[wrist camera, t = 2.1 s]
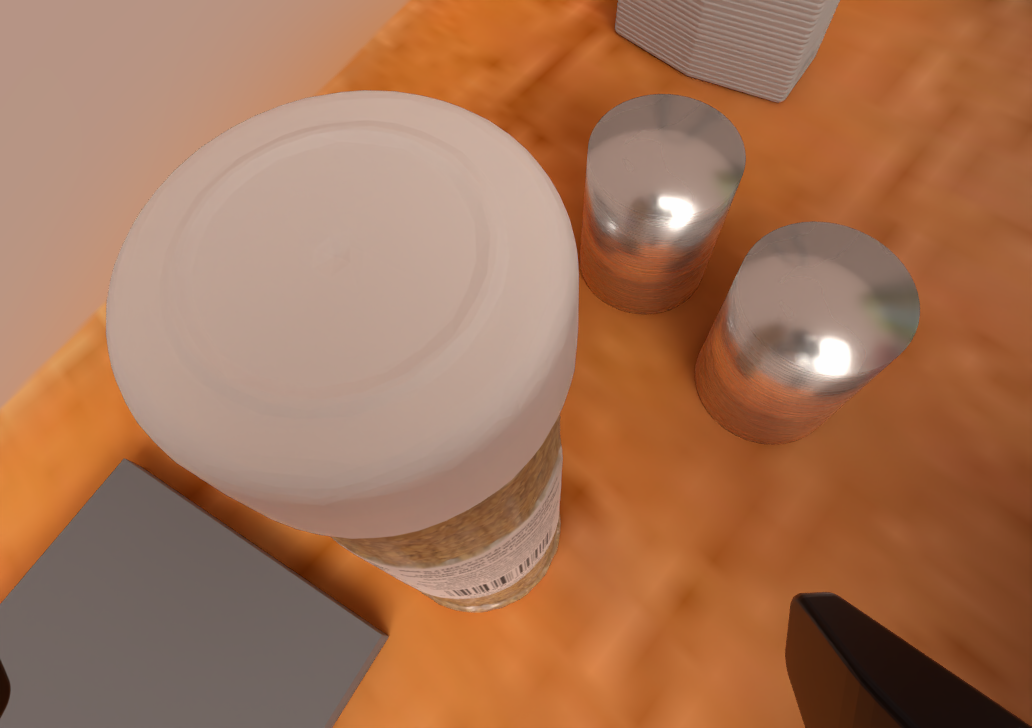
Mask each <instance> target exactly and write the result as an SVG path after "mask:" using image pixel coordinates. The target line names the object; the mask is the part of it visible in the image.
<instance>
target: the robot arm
mask: <svg viewBox="0 0 1032 728" xmlns="http://www.w3.org/2000/svg"><path fill="white" fill-rule="evenodd" d="M785 659H786V667H787V671H788V675H789V679H790V682H791V685H792V688H793V691H794V694H795V697H796V700H797V703H798V707H799V710H800V713H801V716H802V719H803V722H804V725H805V728H1032V727H1031V726H1030V725H1028V724H1027V723H1025V722H1024V721H1022V720H1021V719H1020V718H1018V717H1017V716H1015V715H1014V714H1012V713H1011V712H1009V711H1008V710H1006V709H1005V708H1003V707H1002V706H1000V705H999V704H997V703H996V702H994V701H993V700H991V699H990V698H989V697H987V696H986V695H984V694H983V693H981V692H980V691H978V690H977V689H975V688H974V687H972V686H971V685H969V684H968V683H966V682H965V681H963V680H962V679H961V678H959V677H958V676H956V675H955V674H953V673H952V672H950V671H949V670H947V669H946V668H944V667H943V666H941V665H940V664H938V663H937V662H935V661H934V660H932V659H931V658H930V657H928V656H927V655H925V654H924V653H922V652H921V651H919V650H918V649H916V648H915V647H913V646H912V645H910V644H909V643H907V642H906V641H904V640H903V639H901V638H900V637H899V636H897V635H896V634H894V633H893V632H891V631H890V630H888V629H887V628H885V627H884V626H882V625H881V624H879V623H878V622H876V621H875V620H873V619H872V618H871V617H869V616H868V615H866V614H865V613H863V612H862V611H860V610H859V609H857V608H856V607H854V606H853V605H851V604H850V603H848V602H847V601H845V600H844V599H842V598H841V597H839V596H838V595H836V594H834V593H829V592H819V593H800V594H797V595H796V596H794V597H793V599H792V602H791V606H790V614H789V623H788V632H787V641H786V650H785ZM10 693H11V684H10V680H9V678H8V675H7V673H6V671H5V668H4V666H3V664H2V661H1V659H0V718H1V717H2V715H3V713H4V711H5V709H6V707H7V705H8V702H9V699H10Z"/></svg>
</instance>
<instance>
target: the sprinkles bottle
mask: <svg viewBox="0 0 1032 728" xmlns="http://www.w3.org/2000/svg"><path fill="white" fill-rule="evenodd" d="M578 305H579V268H578V254H577V247H576V242H575V238H574V234H573V230H572V226H571V222H570V218H569V216H568V214H567V211H566V209H565V206H564V204H563V202H562V199H561V197H560V195H559V193H558V191H557V190H556V188H555V186H554V185H553V183H552V181H551V179H550V178H549V176H548V175H547V174H546V172H545V171H544V170H543V168H542V167H541V166H540V164H539V163H538V162H537V161H536V160H535V159H534V157H533V156H532V155H531V154H530V153H529V152H528V150H527V149H525V148H524V147H523V146H522V145H521V144H520V143H519V142H518V141H516V140H515V139H514V138H513V137H512V136H511V135H510V134H508V133H506V132H505V131H503V130H502V129H501V128H499V127H498V126H496V125H495V124H494V123H492V122H490V121H489V120H487V119H485V118H483V117H481V116H479V115H477V114H475V113H472V112H470V111H468V110H466V109H464V108H461V107H459V106H456V105H453V104H451V103H448V102H445V101H441V100H437V99H433V98H430V97H426V96H422V95H415V94H409V93H403V92H396V91H368V90H363V91H349V92H339V93H333V94H327V95H321V96H315V97H309V98H304V99H301V100H298V101H294V102H291V103H287V104H284V105H281V106H278V107H276V108H273V109H271V110H268V111H266V112H263V113H260V114H258V115H255V116H254V117H252V118H249V119H248V120H245V121H243V122H242V123H239V124H238V125H235V126H234V127H232V128H230V129H229V130H227V131H225V132H224V133H222V134H220V135H219V136H217V137H216V138H214V139H213V140H211V141H210V142H208V143H207V144H205V145H204V146H202V147H201V148H199V149H198V150H197V151H196V152H195V153H194V154H192V155H191V156H190V157H189V158H188V159H187V160H185V161H184V162H183V163H182V164H181V165H180V166H179V167H178V168H177V169H175V170H174V171H173V172H172V173H171V175H170V176H169V177H168V178H167V179H166V180H165V181H164V182H163V183H162V185H161V186H160V187H159V188H158V189H157V190H156V191H155V193H154V194H153V195H152V197H151V198H150V199H149V201H148V202H147V203H146V205H145V206H144V207H143V209H142V210H141V212H140V213H139V215H138V216H137V218H136V220H135V221H134V223H133V225H132V227H131V229H130V231H129V233H128V235H127V237H126V239H125V241H124V243H123V245H122V247H121V250H120V252H119V255H118V257H117V260H116V262H115V264H114V268H113V272H112V276H111V280H110V285H109V291H108V297H107V308H106V338H107V345H108V352H109V357H110V362H111V367H112V370H113V373H114V376H115V379H116V382H117V384H118V386H119V389H120V391H121V393H122V396H123V398H124V400H125V402H126V404H127V406H128V408H129V409H130V411H131V413H132V414H133V416H134V418H135V420H136V421H137V423H138V424H139V425H140V426H141V427H142V429H143V430H144V431H145V432H146V433H147V434H148V436H149V437H150V438H151V439H152V440H153V441H154V442H155V443H156V444H157V445H158V446H159V447H160V448H161V449H162V450H163V451H164V452H165V453H166V454H167V455H168V456H169V457H170V458H171V459H173V460H174V461H175V462H176V463H177V464H179V465H180V466H182V467H183V468H185V469H187V470H188V471H190V472H191V473H193V474H194V475H196V476H197V477H199V478H200V479H202V480H204V481H205V482H207V483H208V484H210V485H211V486H213V487H214V488H216V489H218V490H219V491H221V492H222V493H224V494H225V495H227V496H229V497H231V498H233V499H234V500H236V501H238V502H240V503H242V504H244V505H246V506H248V507H249V508H251V509H253V510H255V511H257V512H259V513H261V514H262V515H264V516H266V517H268V518H270V519H272V520H274V521H277V522H279V523H282V524H285V525H287V526H290V527H292V528H295V529H298V530H302V531H306V532H310V533H314V534H319V535H325V536H330V537H332V538H333V539H334V540H335V541H336V542H337V543H339V544H340V545H341V546H343V547H344V548H346V549H347V550H349V551H350V552H352V553H353V554H355V555H357V556H358V557H360V558H362V559H364V560H365V561H367V562H369V563H371V564H372V565H374V566H376V567H378V568H380V569H381V570H383V571H385V572H386V573H388V574H390V575H391V576H393V577H395V578H397V579H399V580H400V581H402V582H404V583H406V584H408V585H410V586H412V587H414V588H415V589H417V590H419V591H421V592H422V593H423V594H424V595H426V596H428V597H430V598H431V599H432V600H434V601H435V602H436V603H438V604H440V605H442V606H445V607H447V608H450V609H453V610H456V611H463V612H487V611H490V610H493V609H499V608H502V607H505V606H506V605H508V604H510V603H513V602H515V601H518V600H520V599H521V598H523V597H524V596H525V595H527V594H528V593H529V592H530V591H531V590H532V589H533V588H534V587H535V586H536V585H537V584H538V583H539V582H540V580H541V579H542V578H543V577H544V576H545V574H546V573H547V571H548V568H549V566H550V564H551V561H552V559H553V557H554V555H555V554H556V552H557V548H558V543H559V537H560V526H561V521H560V512H559V507H560V493H561V479H562V462H563V456H562V446H561V438H560V412H561V410H562V407H563V405H564V402H565V400H566V397H567V394H568V391H569V388H570V385H571V381H572V377H573V374H574V370H575V360H576V350H577V338H578Z"/></svg>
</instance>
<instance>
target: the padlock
mask: <svg viewBox="0 0 1032 728" xmlns="http://www.w3.org/2000/svg"><path fill="white" fill-rule="evenodd" d="M839 2H840V0H618V4H617V6H618V7H617V13H616V16H617V17H616V23H615V30H616V32H617V33H618V34H619V35H621V36H623V37H624V38H626V39H628V40H629V41H631V42H633V43H634V44H636V45H637V46H639V47H641V48H642V49H644V50H646V51H647V52H649V53H651V54H652V55H654V56H656V57H657V58H659V59H660V60H662V61H664V62H665V63H667V64H669V65H670V66H672V67H674V68H675V69H677V70H679V71H680V72H682V73H684V74H685V75H687V76H690V77H693V78H697V79H700V80H703V81H707V82H710V83H713V84H717V85H720V86H724V87H727V88H730V89H734V90H737V91H740V92H744V93H747V94H750V95H754V96H757V97H761V98H764V99H767V100H770V101H774V102H777V103H778V102H782V101H784V100H785V99H786V97H787V96H788V95H789V93H790V92H791V90H792V89H793V87H794V86H795V85H796V83H797V82H798V80H799V79H800V78H801V76H802V75H803V73H804V72H805V70H806V69H807V68H808V66H809V65H810V63H811V62H812V61H813V59H814V58H815V56H816V53H817V52H818V49H819V47H820V44H821V42H822V39H823V38H824V35H825V33H826V30H827V28H828V27H829V24H830V22H831V19H832V18H833V14H834V13H835V9H836V8H837V6H838V3H839Z"/></svg>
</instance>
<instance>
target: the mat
mask: <svg viewBox="0 0 1032 728" xmlns="http://www.w3.org/2000/svg"><path fill="white" fill-rule="evenodd" d="M388 637H389V636H388V635H386V634H385V633H383V632H382V631H380V630H379V629H377V628H376V627H374V626H373V625H372V624H370V623H369V622H367V621H366V620H364V619H363V618H361V617H360V616H358V615H357V614H355V613H354V612H353V611H351V610H350V609H348V608H347V607H345V606H344V605H342V604H341V603H339V602H338V601H336V600H335V599H334V598H332V597H331V596H329V595H328V594H326V593H325V592H323V591H322V590H320V589H319V588H317V587H316V586H315V585H313V584H312V583H310V582H309V581H307V580H306V579H304V578H303V577H301V576H300V575H298V574H297V573H296V572H294V571H293V570H291V569H290V568H288V567H287V566H285V565H284V564H282V563H281V562H279V561H278V560H277V559H275V558H274V557H272V556H271V555H269V554H268V553H266V552H265V551H263V550H262V549H261V548H259V547H258V546H256V545H255V544H253V543H252V542H250V541H249V540H247V539H246V538H244V537H243V536H242V535H240V534H239V533H237V532H236V531H234V530H233V529H231V528H230V527H228V526H227V525H225V524H224V523H223V522H221V521H220V520H218V519H217V518H215V517H214V516H212V515H211V514H209V513H208V512H206V511H205V510H204V509H202V508H201V507H199V506H198V505H196V504H195V503H193V502H192V501H190V500H189V499H187V498H186V497H185V496H183V495H182V494H180V493H179V492H177V491H176V490H174V489H173V488H171V487H170V486H168V485H167V484H166V483H164V482H163V481H161V480H160V479H158V478H157V477H155V476H154V475H152V474H151V473H149V472H148V471H147V470H145V469H144V468H142V467H141V466H139V465H137V464H135V463H133V462H131V461H129V460H127V459H125V458H124V459H123V460H122V462H121V463H120V464H119V465H118V466H117V467H116V469H115V470H114V471H113V472H112V473H111V475H110V476H109V477H108V478H107V479H106V480H105V482H104V483H103V484H102V485H101V486H100V487H99V489H98V490H97V491H96V492H95V493H94V495H93V496H92V497H91V498H90V499H89V500H88V502H87V503H86V504H85V505H84V506H83V507H82V509H81V510H80V511H79V512H78V513H77V515H76V516H75V517H74V518H73V519H72V520H71V522H70V523H69V524H68V525H67V526H66V528H65V529H64V530H63V531H62V532H61V533H60V535H59V536H58V537H57V538H56V539H55V540H54V542H53V543H52V544H51V545H50V546H49V548H48V549H47V550H46V551H45V552H44V553H43V555H42V556H41V557H40V558H39V559H38V560H37V562H36V563H35V564H34V565H33V566H32V568H31V569H30V570H29V571H28V572H27V573H26V575H25V576H24V577H23V578H22V579H21V581H20V582H19V583H18V584H17V585H16V586H15V588H14V589H13V590H12V591H11V592H10V593H9V595H8V596H7V597H6V598H5V599H4V601H3V602H2V603H1V604H0V659H1V661H2V664H3V666H4V668H5V671H6V673H7V675H8V678H9V680H10V684H11V693H10V699H9V702H8V705H7V707H6V709H5V711H4V713H3V715H2V717H1V718H0V728H332V727H333V725H334V724H335V722H336V721H337V719H338V717H339V716H340V714H341V713H342V711H343V709H344V708H345V706H346V705H347V703H348V701H349V700H350V698H351V697H352V695H353V693H354V692H355V690H356V689H357V687H358V685H359V684H360V682H361V681H362V679H363V677H364V676H365V674H366V672H367V671H368V669H369V668H370V666H371V664H372V663H373V661H374V660H375V658H376V656H377V655H378V653H379V652H380V650H381V648H382V647H383V645H384V644H385V642H386V640H387V639H388Z"/></svg>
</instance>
